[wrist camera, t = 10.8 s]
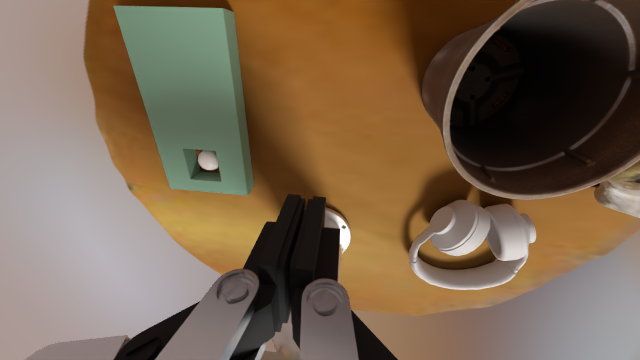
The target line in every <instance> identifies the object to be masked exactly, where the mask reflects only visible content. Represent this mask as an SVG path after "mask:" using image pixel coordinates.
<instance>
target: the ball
mask: <svg viewBox="0 0 640 360" xmlns="http://www.w3.org/2000/svg"><path fill="white" fill-rule="evenodd" d="M198 162H199V165H200V166H201V167H202V168H204V169H206V170H214V169H216V168H218V167H219V165H218V160H217V155H216V151H208V150H203V151H202V152H201V153H200V154H199V156H198Z"/></svg>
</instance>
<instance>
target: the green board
mask: <svg viewBox="0 0 640 360" xmlns="http://www.w3.org/2000/svg"><path fill="white" fill-rule="evenodd" d="M113 7H114V10H115V13H116V16H117V19H118V23H119V26H120V29H121V32H122V35H123V39H124V42H125V45H126V48H127V51H128V55H129V58H130V61H131V64H132V67H133V71H134V74H135V77H136V80H137V83H138V87H139V90H140V93H141V96H142V99H143V103H144V106H145V109H146V112H147V115H148V119H149V122H150V125H151V128H152V131H153V135H154V138H155V141H156V144H157V147H158V151H159V154H160V157H161V160H162V163H163V167H164V170H165V173H166V176H167V179H168V183H169V186H170V189H181V190H192V191H203V192H214V193H225V194H236V195H247V196H248V195H249V193H250V192H251V190H252V189H253V188H254V182H253V173H252V165H251V156H250V147H249V139H248V130H247V121H246V113H245V104H244V95H243V87H242V78H241V69H240V61H239V52H238V43H237V35H236V26H235V18H234V12H232V11H229V10H227V9H224V8H193V7H150V6H113ZM195 150H208V151H216V155H217V160H218V165H219V171H220V173H213V172H201V171H200V168H199V164H198V159H197V155H196V151H195Z"/></svg>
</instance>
